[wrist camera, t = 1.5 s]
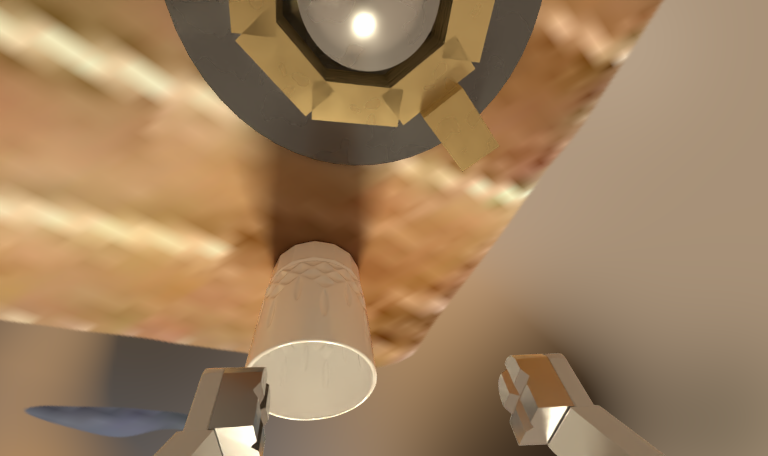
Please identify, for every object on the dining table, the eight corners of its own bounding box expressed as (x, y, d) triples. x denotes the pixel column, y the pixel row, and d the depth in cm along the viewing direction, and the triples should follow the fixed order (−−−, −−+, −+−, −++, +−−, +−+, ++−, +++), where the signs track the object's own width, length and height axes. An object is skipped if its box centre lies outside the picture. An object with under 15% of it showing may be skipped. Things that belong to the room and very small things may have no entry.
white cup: (322, 215, 28) (318, 318, 20) (384, 277, 32) (402, 384, 24) (244, 269, 30) (211, 384, 22) (312, 321, 34) (305, 434, 26)
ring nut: (186, -36, 18) (154, -37, 15) (383, -262, 15) (397, -327, 12) (387, 187, 26) (395, 219, 23) (544, 71, 23) (580, 89, 20)
